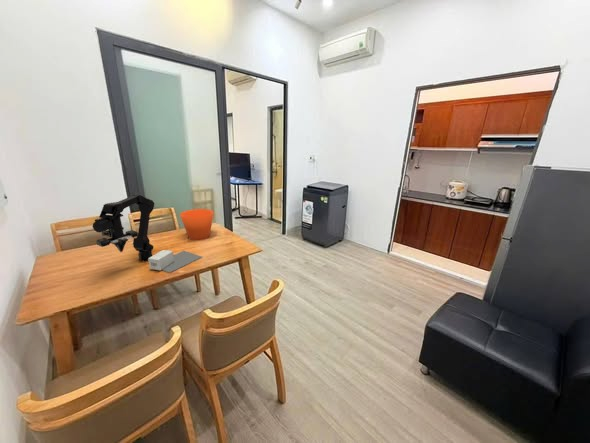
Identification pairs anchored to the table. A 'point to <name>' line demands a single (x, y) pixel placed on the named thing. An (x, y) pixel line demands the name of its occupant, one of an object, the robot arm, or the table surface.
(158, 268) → the supplement box
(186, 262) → the mat
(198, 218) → the flowerpot
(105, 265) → the table surface
